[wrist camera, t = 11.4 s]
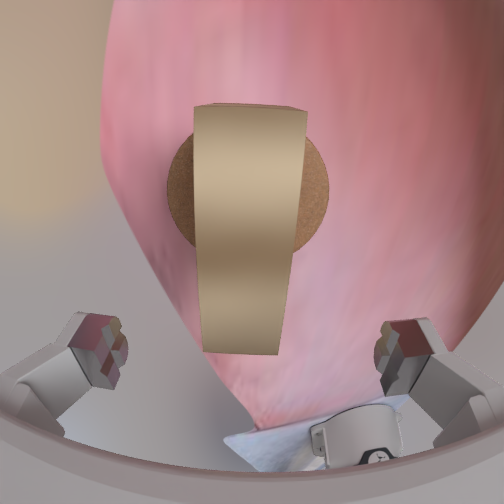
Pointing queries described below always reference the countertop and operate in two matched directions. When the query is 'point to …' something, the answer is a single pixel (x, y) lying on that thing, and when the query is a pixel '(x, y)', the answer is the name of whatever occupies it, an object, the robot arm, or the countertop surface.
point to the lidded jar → (310, 200)
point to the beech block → (245, 221)
